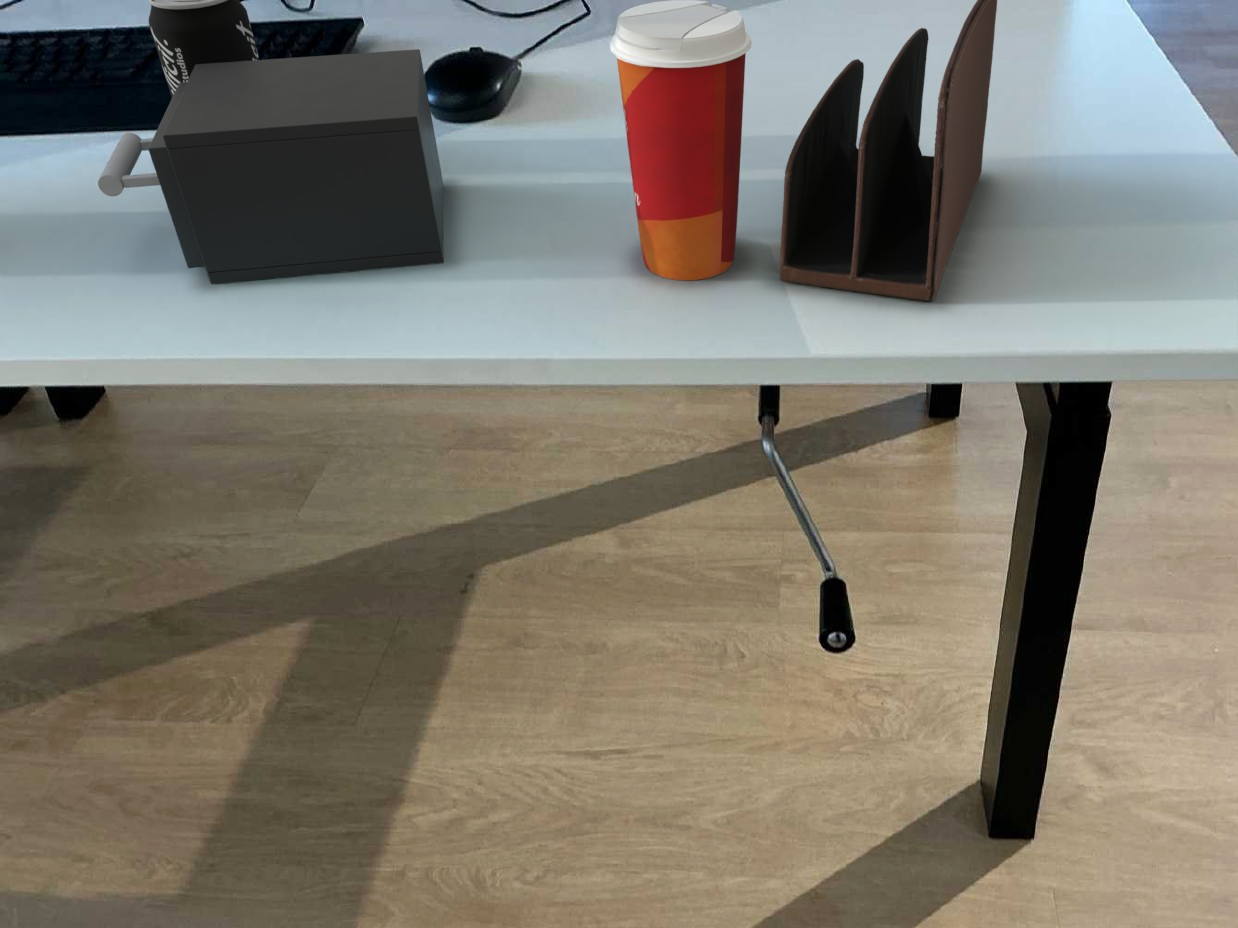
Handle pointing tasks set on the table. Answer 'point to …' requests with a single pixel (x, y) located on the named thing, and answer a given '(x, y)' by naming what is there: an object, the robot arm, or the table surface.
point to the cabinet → (309, 165)
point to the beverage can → (199, 35)
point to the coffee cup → (683, 130)
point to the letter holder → (888, 172)
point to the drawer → (153, 179)
